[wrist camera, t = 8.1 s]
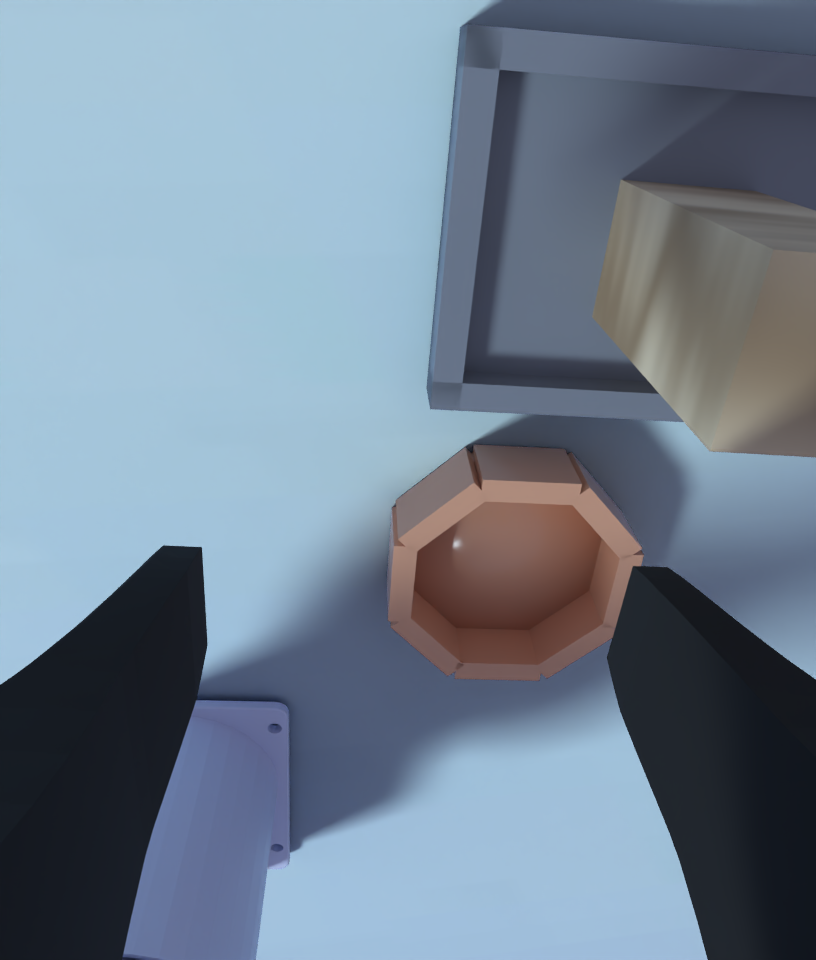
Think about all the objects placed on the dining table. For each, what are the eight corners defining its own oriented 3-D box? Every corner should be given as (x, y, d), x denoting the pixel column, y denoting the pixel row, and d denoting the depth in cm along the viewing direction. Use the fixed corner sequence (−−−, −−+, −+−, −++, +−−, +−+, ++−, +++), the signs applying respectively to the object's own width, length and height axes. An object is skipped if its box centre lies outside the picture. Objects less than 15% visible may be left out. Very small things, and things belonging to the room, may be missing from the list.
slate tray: (819, 408, 22) (847, 430, 21) (426, 388, 21) (430, 408, 20) (947, 70, 18) (991, 71, 17) (460, 26, 17) (467, 23, 16)
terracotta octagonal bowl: (591, 637, 26) (608, 682, 25) (382, 631, 26) (383, 677, 24) (638, 452, 23) (662, 487, 21) (396, 440, 22) (399, 476, 20)
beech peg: (716, 325, 20) (896, 461, 13) (591, 317, 20) (709, 451, 13) (755, 190, 19) (985, 266, 12) (620, 179, 18) (773, 250, 11)
